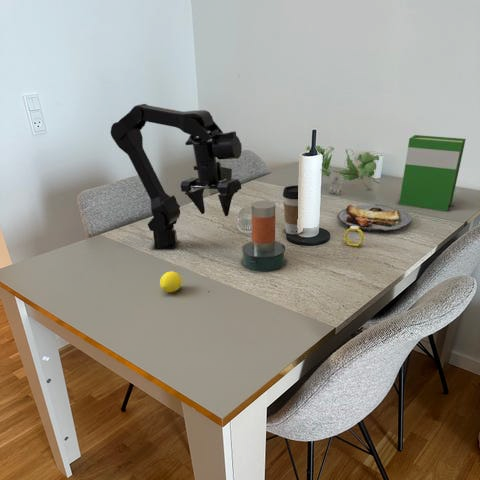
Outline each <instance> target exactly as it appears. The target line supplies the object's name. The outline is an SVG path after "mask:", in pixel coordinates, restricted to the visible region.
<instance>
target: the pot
mask: <svg viewBox="0 0 480 480" xmlns="http://www.w3.org/2000/svg"><path fill="white" fill-rule="evenodd" d="M241 252H242V256H243V257H242V259H243V262H242V264H243V266H244V267H245V268H247V269H249V270H252V271H256V272H271V271H275V270H278V269H280V268H282V267H283V266H284V264H285V252H286V246H285V245H284V243H282V242H279V241H276V240H275V249H274V250H273V251H271V252H266V253H260V252H256V251H254V250H253V249H252V241H249V242H247V243H245V244H243V245H242V247H241Z"/></svg>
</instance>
